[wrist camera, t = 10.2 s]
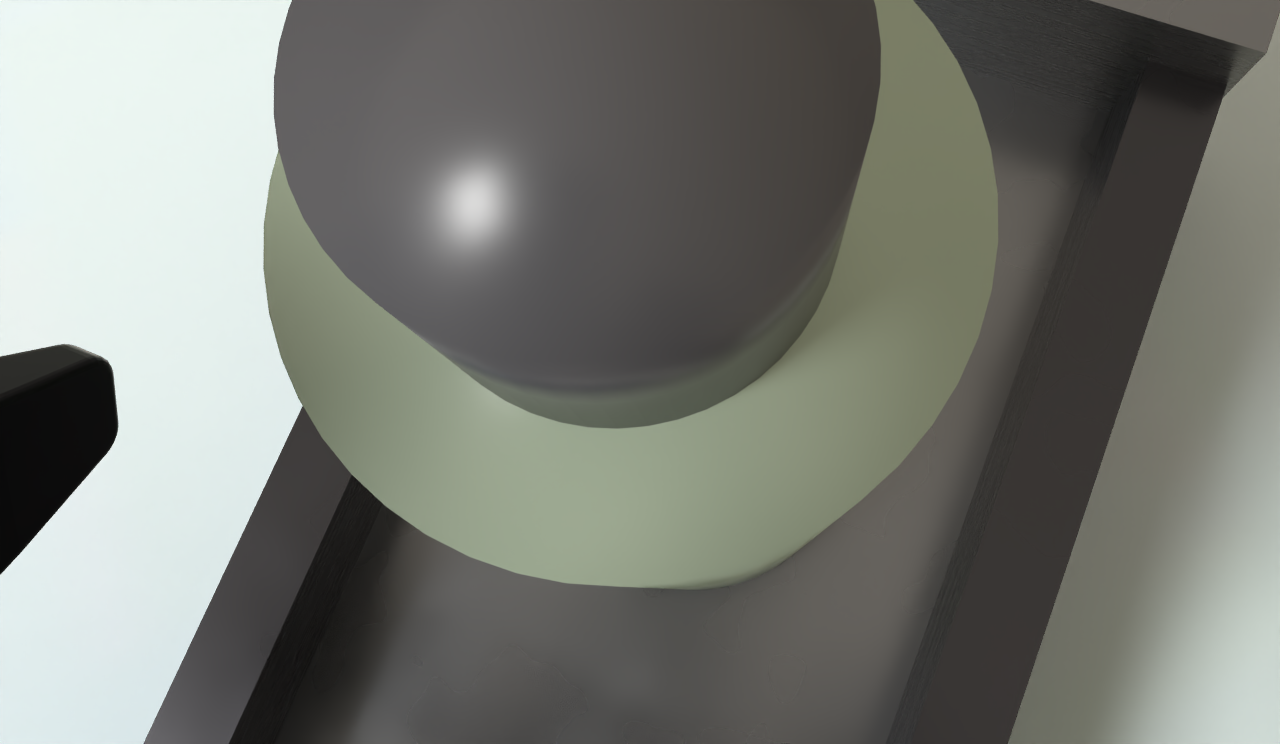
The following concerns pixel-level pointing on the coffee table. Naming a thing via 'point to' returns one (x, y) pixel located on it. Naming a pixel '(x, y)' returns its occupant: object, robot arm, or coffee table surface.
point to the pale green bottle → (625, 267)
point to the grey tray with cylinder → (842, 553)
